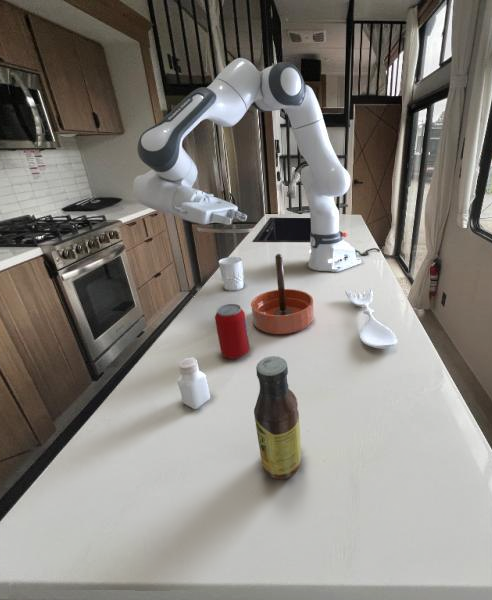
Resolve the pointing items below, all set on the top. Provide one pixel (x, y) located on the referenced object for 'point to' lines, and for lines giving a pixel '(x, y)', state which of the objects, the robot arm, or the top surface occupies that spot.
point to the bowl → (282, 324)
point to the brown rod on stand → (281, 288)
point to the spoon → (372, 324)
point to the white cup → (232, 273)
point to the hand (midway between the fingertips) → (238, 219)
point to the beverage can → (232, 331)
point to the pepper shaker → (192, 384)
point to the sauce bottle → (277, 420)
